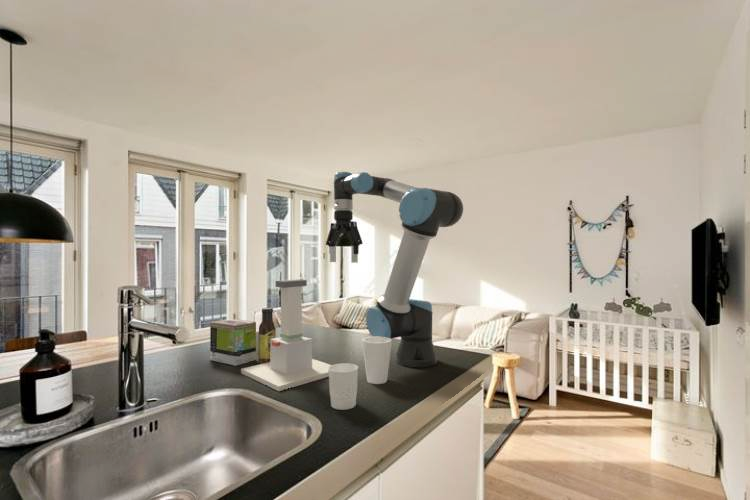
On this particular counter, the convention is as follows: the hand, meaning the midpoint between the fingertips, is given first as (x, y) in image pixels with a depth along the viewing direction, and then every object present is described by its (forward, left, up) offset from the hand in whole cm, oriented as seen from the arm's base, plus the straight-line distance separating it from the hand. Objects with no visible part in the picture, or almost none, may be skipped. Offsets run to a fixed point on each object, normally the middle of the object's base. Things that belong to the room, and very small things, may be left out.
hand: (343, 262), depth 155 cm
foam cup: (-34, +15, -37) cm, 52 cm away
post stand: (-8, +30, -37) cm, 48 cm away
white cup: (-41, +35, -37) cm, 65 cm away
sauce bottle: (+10, +29, -37) cm, 48 cm away
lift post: (-8, +30, -27) cm, 41 cm away
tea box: (+21, +37, -37) cm, 56 cm away
